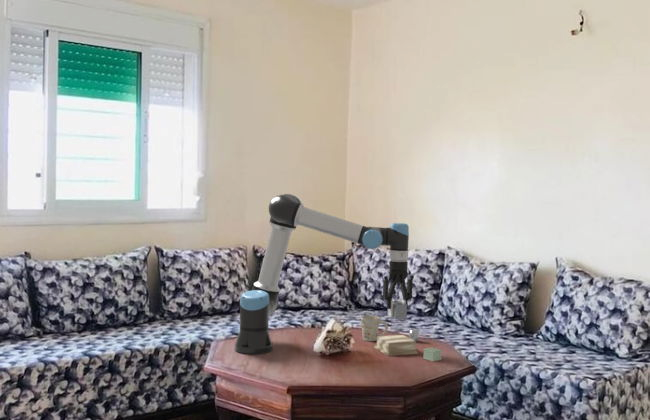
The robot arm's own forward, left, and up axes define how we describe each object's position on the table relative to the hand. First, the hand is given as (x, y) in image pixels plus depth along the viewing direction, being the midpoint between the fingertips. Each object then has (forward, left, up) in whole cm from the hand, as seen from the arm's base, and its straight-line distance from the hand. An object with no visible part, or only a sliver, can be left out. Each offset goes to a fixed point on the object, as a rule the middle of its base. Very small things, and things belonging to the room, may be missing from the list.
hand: (396, 316), depth 275 cm
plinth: (0, 0, -15) cm, 15 cm away
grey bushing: (-13, +15, -15) cm, 25 cm away
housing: (0, 0, 0) cm, 0 cm away
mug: (-20, -1, -15) cm, 25 cm away
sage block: (+15, +9, -15) cm, 23 cm away
